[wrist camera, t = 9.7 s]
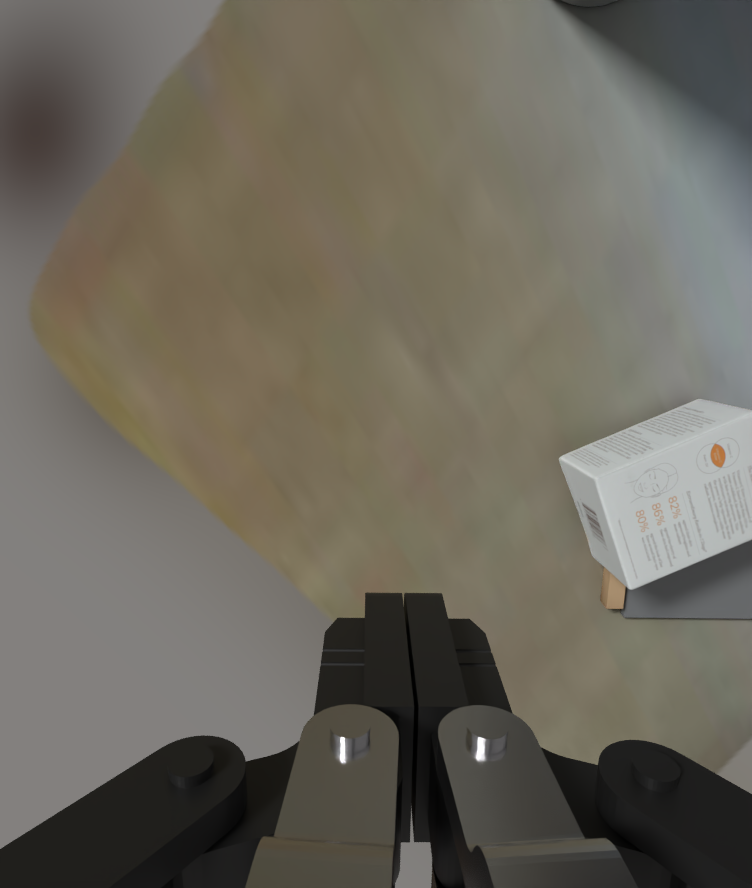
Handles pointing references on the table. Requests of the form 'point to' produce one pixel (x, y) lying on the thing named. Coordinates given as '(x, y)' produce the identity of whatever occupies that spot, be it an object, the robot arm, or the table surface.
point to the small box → (665, 490)
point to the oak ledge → (612, 591)
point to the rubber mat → (698, 590)
